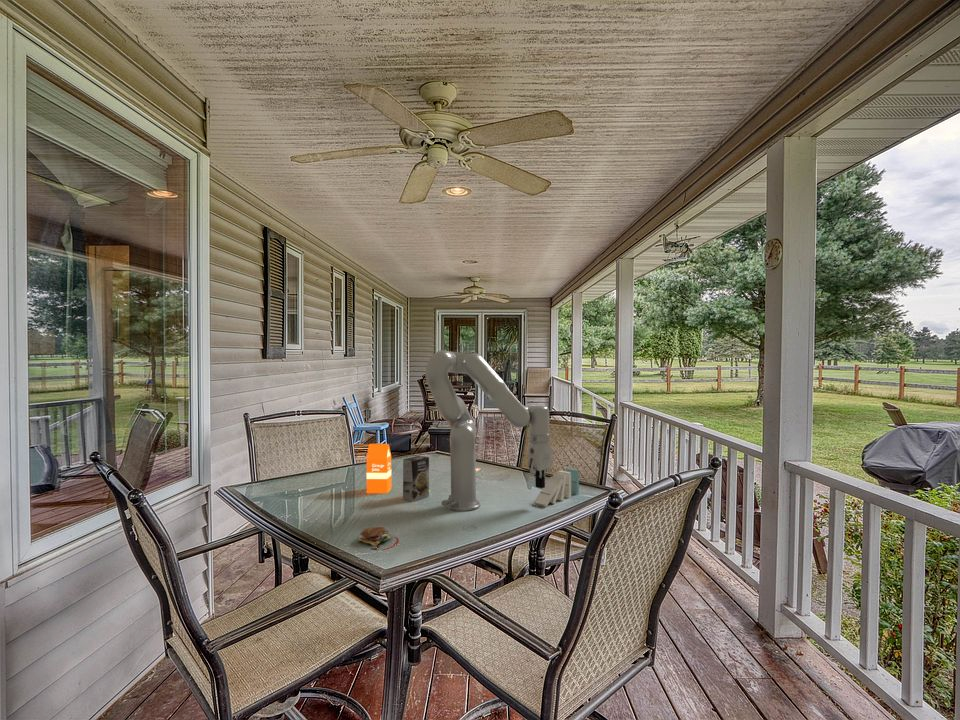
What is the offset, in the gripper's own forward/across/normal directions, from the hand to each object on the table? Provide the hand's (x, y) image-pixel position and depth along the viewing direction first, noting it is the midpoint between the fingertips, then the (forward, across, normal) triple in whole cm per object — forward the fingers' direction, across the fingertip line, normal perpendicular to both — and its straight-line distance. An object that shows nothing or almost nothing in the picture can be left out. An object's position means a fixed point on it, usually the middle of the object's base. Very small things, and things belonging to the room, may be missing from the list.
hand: (540, 487), depth 169 cm
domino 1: (+7, 0, 0) cm, 7 cm away
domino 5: (+7, +23, 0) cm, 24 cm away
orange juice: (+7, -28, +64) cm, 70 cm away
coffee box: (+7, -24, +44) cm, 51 cm away
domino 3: (+7, +11, 0) cm, 13 cm away
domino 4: (+7, +17, 0) cm, 19 cm away
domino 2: (+7, +5, 0) cm, 9 cm away
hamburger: (+8, -61, +17) cm, 64 cm away
